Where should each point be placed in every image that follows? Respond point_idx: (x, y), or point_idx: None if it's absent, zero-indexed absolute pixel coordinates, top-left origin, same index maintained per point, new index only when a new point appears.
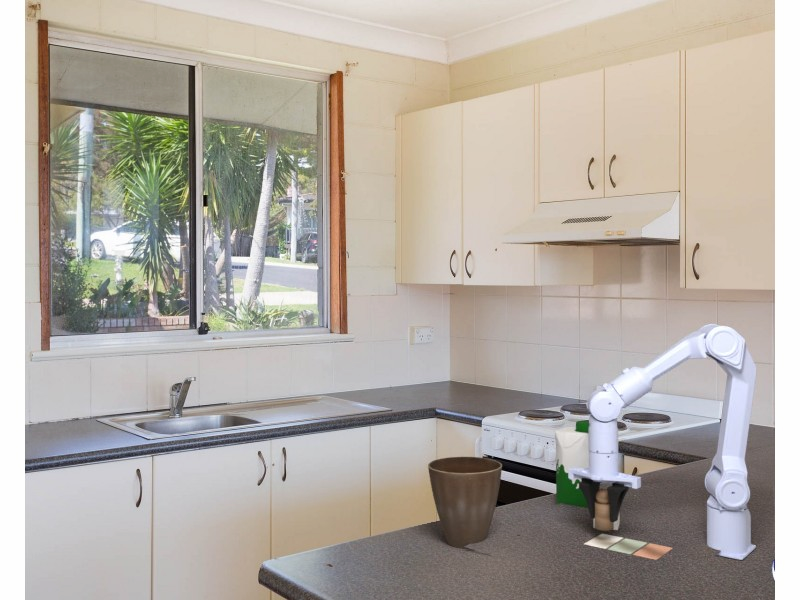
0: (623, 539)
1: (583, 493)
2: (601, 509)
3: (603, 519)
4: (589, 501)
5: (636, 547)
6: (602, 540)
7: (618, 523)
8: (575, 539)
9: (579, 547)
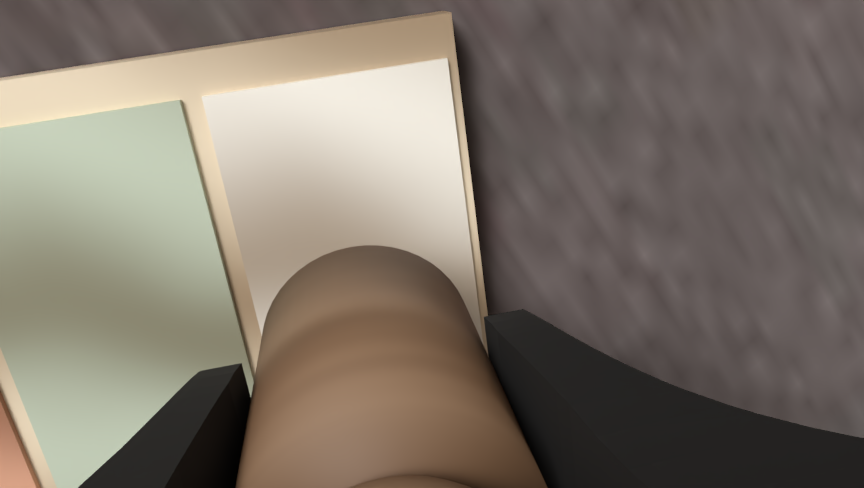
0: None
1: (807, 438)
2: (339, 383)
3: (308, 317)
4: (604, 401)
5: (35, 348)
6: None
7: None
8: (644, 242)
9: (505, 86)
